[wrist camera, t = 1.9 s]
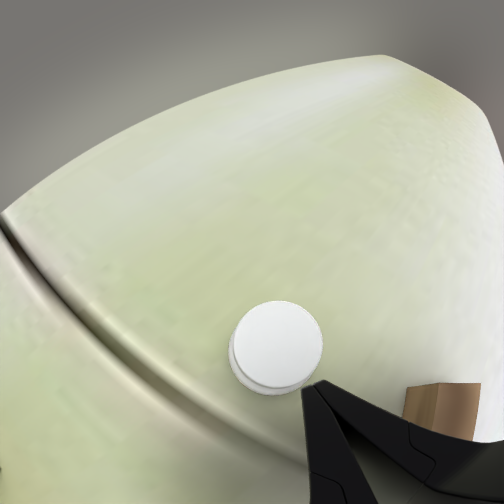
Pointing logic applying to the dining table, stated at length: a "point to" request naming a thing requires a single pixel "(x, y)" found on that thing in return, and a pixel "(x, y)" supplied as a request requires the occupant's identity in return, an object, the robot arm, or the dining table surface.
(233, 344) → the supplement bottle
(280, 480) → the dining table surface
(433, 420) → the walnut block
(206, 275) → the dining table surface
